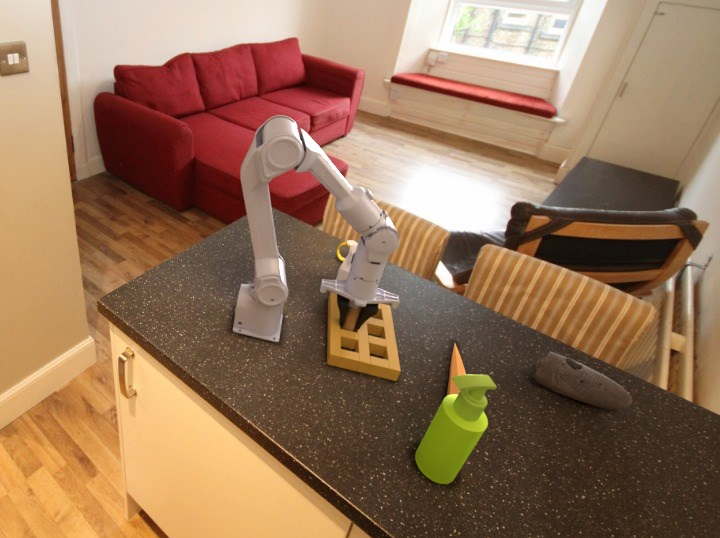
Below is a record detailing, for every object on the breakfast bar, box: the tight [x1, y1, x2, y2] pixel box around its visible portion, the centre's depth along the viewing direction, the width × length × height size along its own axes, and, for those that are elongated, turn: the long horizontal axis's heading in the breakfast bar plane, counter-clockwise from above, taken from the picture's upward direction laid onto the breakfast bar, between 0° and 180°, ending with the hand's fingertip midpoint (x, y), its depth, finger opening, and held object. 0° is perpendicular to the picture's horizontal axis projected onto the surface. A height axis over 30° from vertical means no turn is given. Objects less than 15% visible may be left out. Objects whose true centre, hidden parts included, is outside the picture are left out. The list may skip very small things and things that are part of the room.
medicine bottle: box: [335, 242, 358, 280], centre depth 102 cm, size 7×7×12 cm
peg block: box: [326, 292, 401, 382], centre depth 91 cm, size 13×18×3 cm
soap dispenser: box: [414, 373, 498, 485], centre depth 65 cm, size 6×7×20 cm
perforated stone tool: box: [534, 351, 634, 411], centre depth 82 cm, size 15×5×7 cm, turn 59°
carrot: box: [446, 342, 467, 396], centre depth 84 cm, size 20×4×4 cm, turn 155°
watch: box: [335, 239, 358, 262], centre depth 113 cm, size 6×3×6 cm, turn 59°
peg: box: [340, 300, 362, 332], centre depth 90 cm, size 3×3×8 cm
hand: (348, 324), depth 91 cm, fingers closed on peg, 2 cm apart
